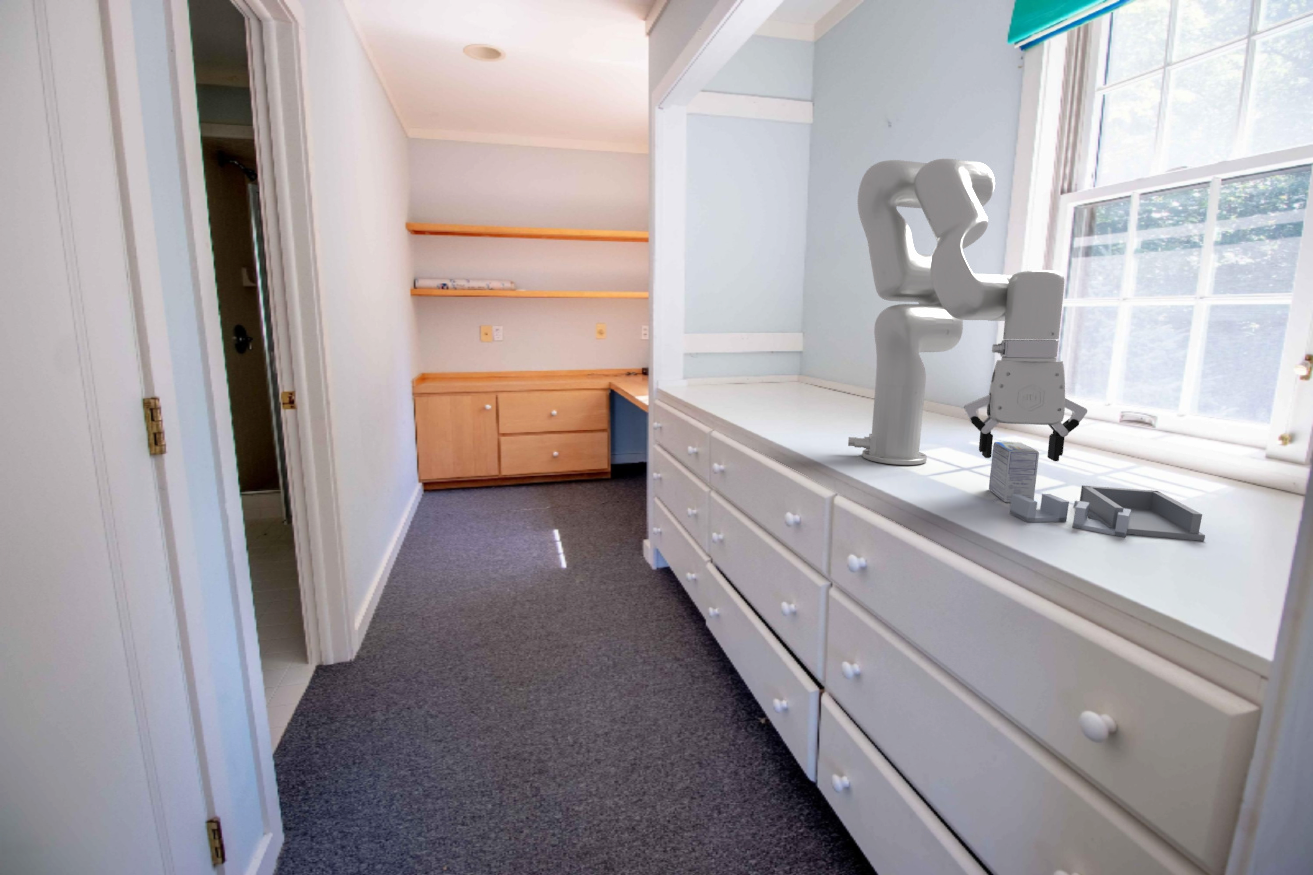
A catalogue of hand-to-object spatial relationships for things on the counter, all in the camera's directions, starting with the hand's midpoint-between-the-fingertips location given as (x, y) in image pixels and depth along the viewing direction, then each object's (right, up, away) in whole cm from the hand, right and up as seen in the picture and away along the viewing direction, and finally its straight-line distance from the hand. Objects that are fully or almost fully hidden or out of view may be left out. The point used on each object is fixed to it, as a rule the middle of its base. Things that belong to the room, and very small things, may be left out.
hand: (1019, 458), depth 100 cm
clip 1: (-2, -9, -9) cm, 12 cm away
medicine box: (0, -7, +2) cm, 7 cm away
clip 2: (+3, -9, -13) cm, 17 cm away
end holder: (+11, -9, -10) cm, 17 cm away
